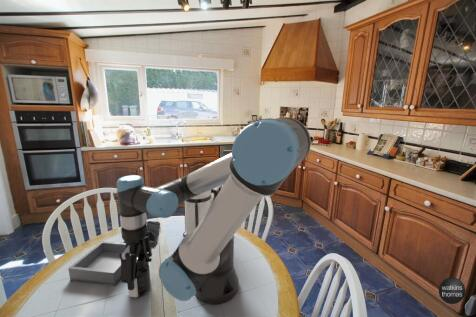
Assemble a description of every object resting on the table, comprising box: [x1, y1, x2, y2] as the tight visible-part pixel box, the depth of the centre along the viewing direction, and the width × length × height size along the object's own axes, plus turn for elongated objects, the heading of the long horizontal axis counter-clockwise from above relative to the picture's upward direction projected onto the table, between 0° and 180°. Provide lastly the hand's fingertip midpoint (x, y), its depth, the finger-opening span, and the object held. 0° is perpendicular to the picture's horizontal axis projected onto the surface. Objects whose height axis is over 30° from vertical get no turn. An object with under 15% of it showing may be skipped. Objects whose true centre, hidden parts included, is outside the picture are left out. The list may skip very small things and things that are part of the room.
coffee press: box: [182, 188, 219, 238], centre depth 110 cm, size 17×16×30 cm
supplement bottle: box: [135, 254, 152, 298], centre depth 77 cm, size 7×7×12 cm
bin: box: [68, 240, 135, 287], centre depth 89 cm, size 17×17×5 cm
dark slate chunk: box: [122, 220, 161, 249], centre depth 111 cm, size 15×22×5 cm
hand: (140, 287), depth 79 cm, fingers closed on supplement bottle, 7 cm apart
